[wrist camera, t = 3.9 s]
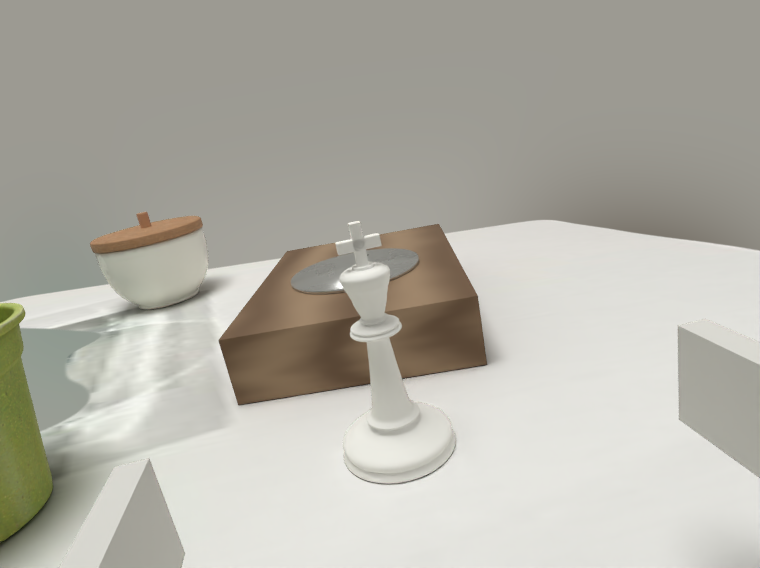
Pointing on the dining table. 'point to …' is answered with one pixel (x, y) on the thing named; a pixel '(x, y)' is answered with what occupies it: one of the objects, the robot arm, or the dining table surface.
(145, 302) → the lidded jar
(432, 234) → the walnut base
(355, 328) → the chess piece
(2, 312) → the plant pot
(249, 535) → the dining table surface
